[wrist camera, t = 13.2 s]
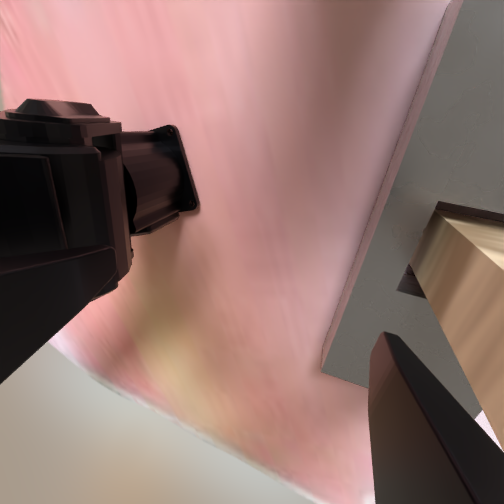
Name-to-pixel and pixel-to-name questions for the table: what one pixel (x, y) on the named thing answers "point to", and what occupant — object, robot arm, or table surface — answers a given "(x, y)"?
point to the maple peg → (468, 299)
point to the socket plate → (428, 198)
